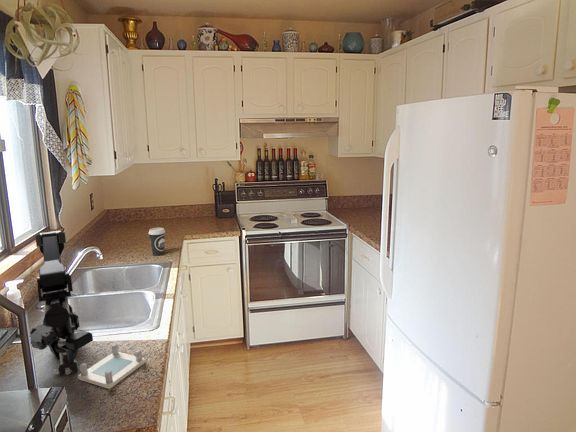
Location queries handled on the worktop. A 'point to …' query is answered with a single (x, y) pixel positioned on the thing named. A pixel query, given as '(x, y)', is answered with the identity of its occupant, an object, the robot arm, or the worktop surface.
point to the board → (111, 368)
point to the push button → (64, 361)
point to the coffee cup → (157, 241)
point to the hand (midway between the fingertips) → (65, 361)
